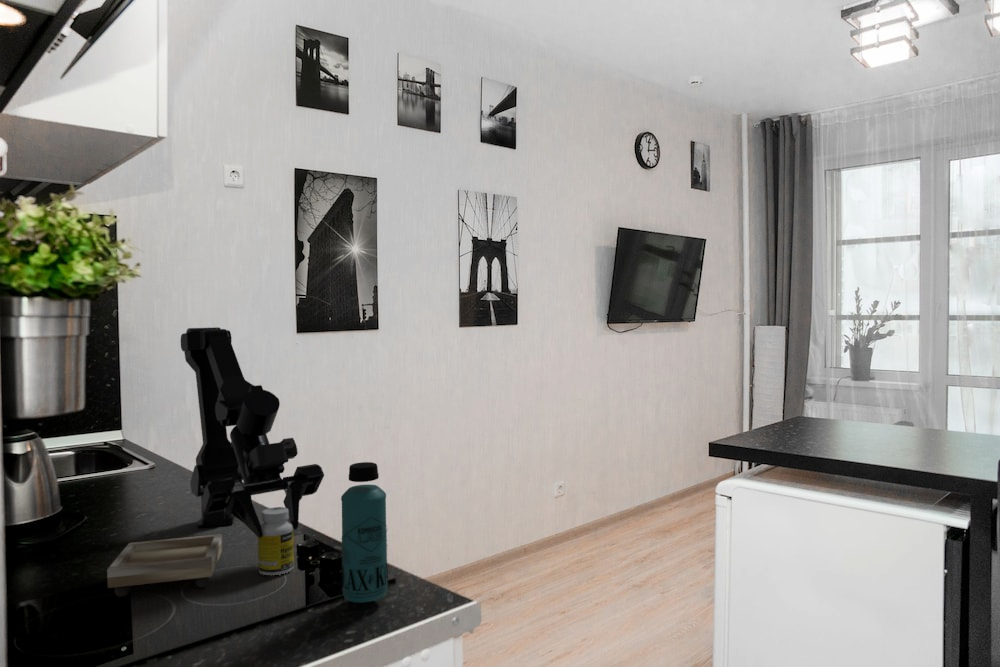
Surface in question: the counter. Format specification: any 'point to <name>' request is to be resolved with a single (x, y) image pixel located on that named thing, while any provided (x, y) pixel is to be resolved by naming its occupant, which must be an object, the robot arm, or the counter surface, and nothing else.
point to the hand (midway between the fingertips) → (278, 532)
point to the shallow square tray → (165, 562)
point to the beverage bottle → (364, 537)
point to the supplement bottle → (276, 542)
